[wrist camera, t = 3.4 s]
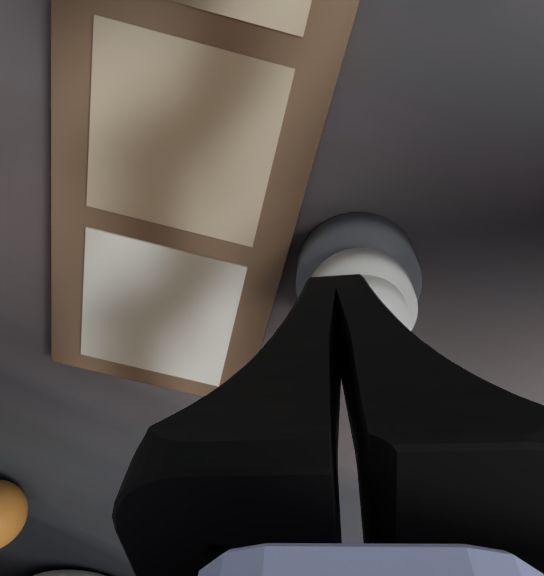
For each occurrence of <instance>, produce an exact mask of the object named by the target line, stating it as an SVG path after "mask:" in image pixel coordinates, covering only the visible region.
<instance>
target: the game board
mask: <svg viewBox="0 0 544 576" xmlns="http://www.w3.org/2000/svg"><path fill="white" fill-rule="evenodd" d="M359 2H360V0H51V361H53V362H57V363H61V364H65V365H70V366H74V367H78V368H83V369H87V370H91V371H95V372H100V373H104V374H108V375H113V376H117V377H121V378H126V379H130V380H134V381H138V382H143V383H147V384H151V385H156V386H160V387H164V388H168V389H173V390H177V391H181V392H186V393H190V394H194V395H198V396H203V397H204V396H206V395H207V394H209V393H210V392H212V391H213V390H215V389H216V388H217V387H219V386H220V385H222V384H223V383H224V382H226V381H227V380H228V379H229V378H231V377H232V376H233V375H234V374H235V373H237V372H238V371H239V370H240V369H241V368H243V367H244V366H245V365H246V364H247V363H248V362H249V361H250V360H251V359H252V358H253V357H254V356H255V355H256V354H257V353H258V352H259V351H260V349H261V345H262V342H263V338H264V335H265V331H266V328H267V324H268V321H269V317H270V314H271V310H272V307H273V303H274V300H275V296H276V293H277V289H278V286H279V282H280V279H281V275H282V272H283V268H284V265H285V261H286V258H287V254H288V251H289V247H290V244H291V240H292V237H293V233H294V230H295V226H296V223H297V219H298V216H299V212H300V209H301V205H302V202H303V198H304V195H305V191H306V188H307V184H308V181H309V177H310V174H311V170H312V167H313V163H314V160H315V156H316V153H317V149H318V146H319V142H320V139H321V135H322V132H323V128H324V125H325V121H326V118H327V114H328V111H329V107H330V104H331V100H332V97H333V93H334V90H335V86H336V83H337V79H338V76H339V72H340V69H341V65H342V62H343V58H344V55H345V51H346V48H347V44H348V41H349V37H350V34H351V30H352V27H353V23H354V20H355V16H356V13H357V9H358V6H359Z"/></svg>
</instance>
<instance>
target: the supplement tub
mask: <svg viewBox="0 0 544 576" xmlns="http://www.w3.org/2000/svg"><path fill="white" fill-rule="evenodd" d="M33 576H106V575H103V574H99V573H94V572H89V571H83V570H53V571H47V572H42V573H39V574H36V575H33Z"/></svg>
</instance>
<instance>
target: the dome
mask: <svg viewBox="0 0 544 576" xmlns="http://www.w3.org/2000/svg"><path fill="white" fill-rule="evenodd" d="M351 274H361V275H362V276H363V277H364V278H365V280H366V281H367V283H368V284H369V286H370V287H371V288H372V290H373V291H374V292H375V294H376V295H377V296H378V297H379V299H380V300H381V301H382V302H383V303H384V305H385V306H386V307H387V308H388V309H389V310H390V311H391V312H392V313H393V314H394V315H395V316H396V317H397V318H398V319H399V320H400V321H401V322H402V323H403V324H404V325H405V326H406V327H407V328H408V329H409V330H410V331H412V329H413V327H414V325H415V322H416V320H417V315H418V302H417V298H416V295H415V292H414V289H413V286H412V283H411V280H410V277H409V275H408V273H407V271H406V269H405V268H404V266H403V265H402V264H401V263H400V262H399V261H398V260H397V259H396V258H395V257H393V256H391V255H390V254H388V253H386V252H384V251H381V250H378V249H373V248H365V247H359V248H350V249H346V250H343V251H340V252H338V253H335V254H333V255H332V256H330V257H328V258H327V259H326V260H324V261H323V262H322V263H321V264H320V265H319V266H318V268H317V269H316V270H315V272H314V273H313V275H312V277H321V276H336V275H351Z"/></svg>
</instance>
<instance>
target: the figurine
mask: <svg viewBox="0 0 544 576" xmlns="http://www.w3.org/2000/svg"><path fill="white" fill-rule="evenodd" d="M27 514H28V503H27V499H26V496H25V494H24V493H23V491H22V490H21V489H20V488H19V487H18V486H17V485H15V484H14V483H12V482H9V481H6V480H0V548H2V547H4V546H5V545H7V544H8V543H10V542H11V541H12V540H13V539H14V538H15V537H16V536H17V535H18V534H19V532H20V531H21V529H22V528H23V526H24V524H25V521H26V518H27Z"/></svg>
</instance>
